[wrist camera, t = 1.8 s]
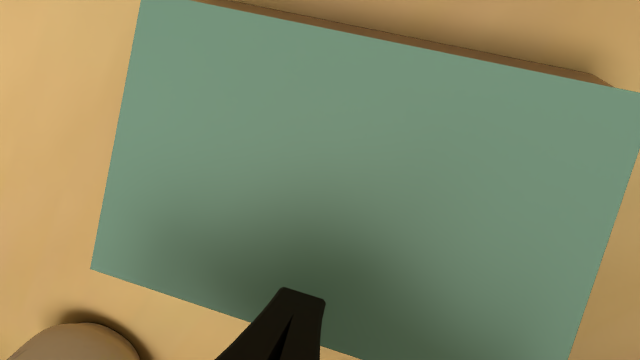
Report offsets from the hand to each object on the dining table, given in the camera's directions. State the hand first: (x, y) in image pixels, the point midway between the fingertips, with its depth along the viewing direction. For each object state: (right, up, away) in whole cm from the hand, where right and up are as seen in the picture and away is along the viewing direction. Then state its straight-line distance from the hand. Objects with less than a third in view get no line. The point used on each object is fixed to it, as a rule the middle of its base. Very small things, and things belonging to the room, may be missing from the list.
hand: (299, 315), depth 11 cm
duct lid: (+1, +4, +2) cm, 4 cm away
